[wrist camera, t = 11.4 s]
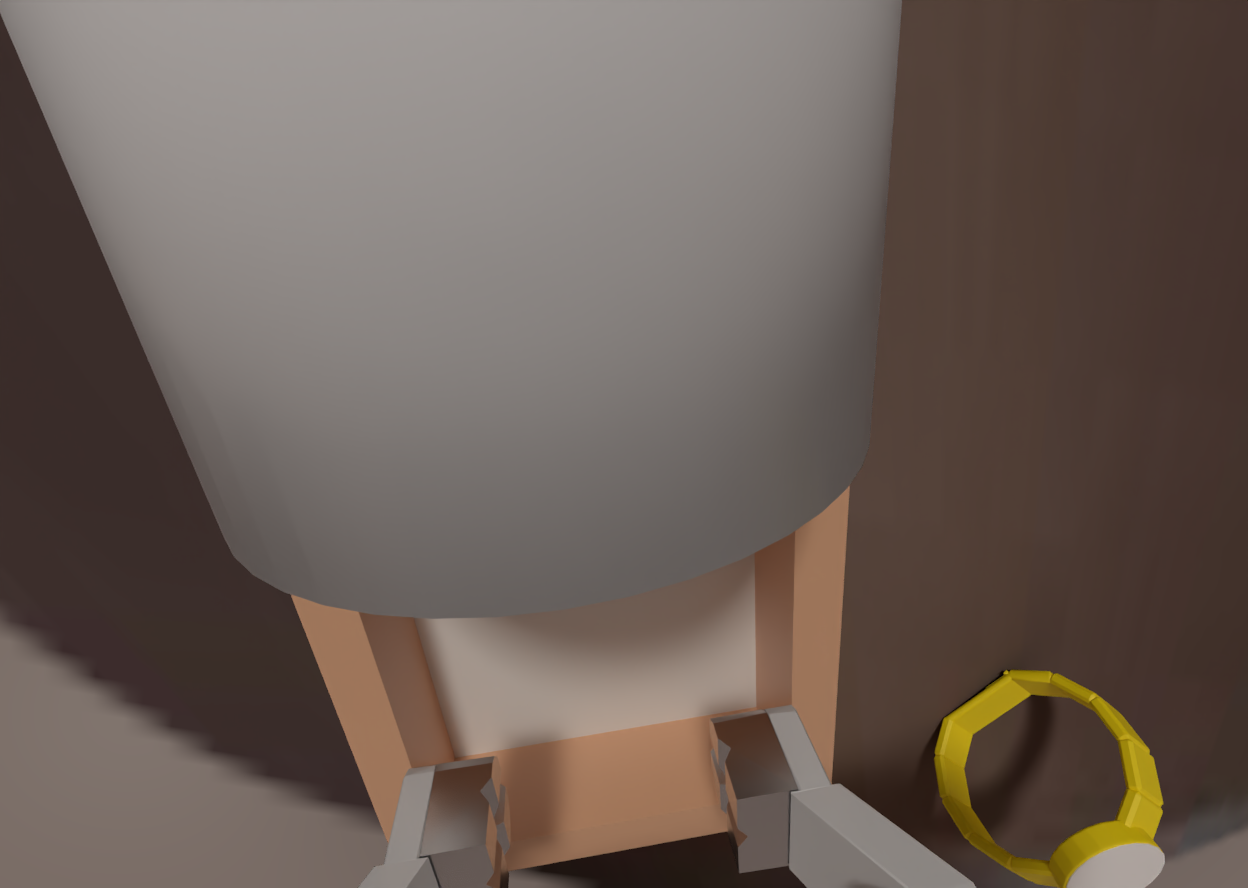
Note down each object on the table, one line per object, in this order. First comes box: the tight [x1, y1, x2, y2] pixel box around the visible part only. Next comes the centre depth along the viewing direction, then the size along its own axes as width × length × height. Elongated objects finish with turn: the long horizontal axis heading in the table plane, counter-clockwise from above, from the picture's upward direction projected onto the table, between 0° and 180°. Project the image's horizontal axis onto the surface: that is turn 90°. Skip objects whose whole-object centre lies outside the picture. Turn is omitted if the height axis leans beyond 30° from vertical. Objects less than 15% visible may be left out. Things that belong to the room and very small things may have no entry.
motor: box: [0, 0, 902, 871], centre depth 10 cm, size 12×21×11 cm, turn 6°
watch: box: [934, 669, 1165, 888], centre depth 20 cm, size 6×3×6 cm, turn 141°
